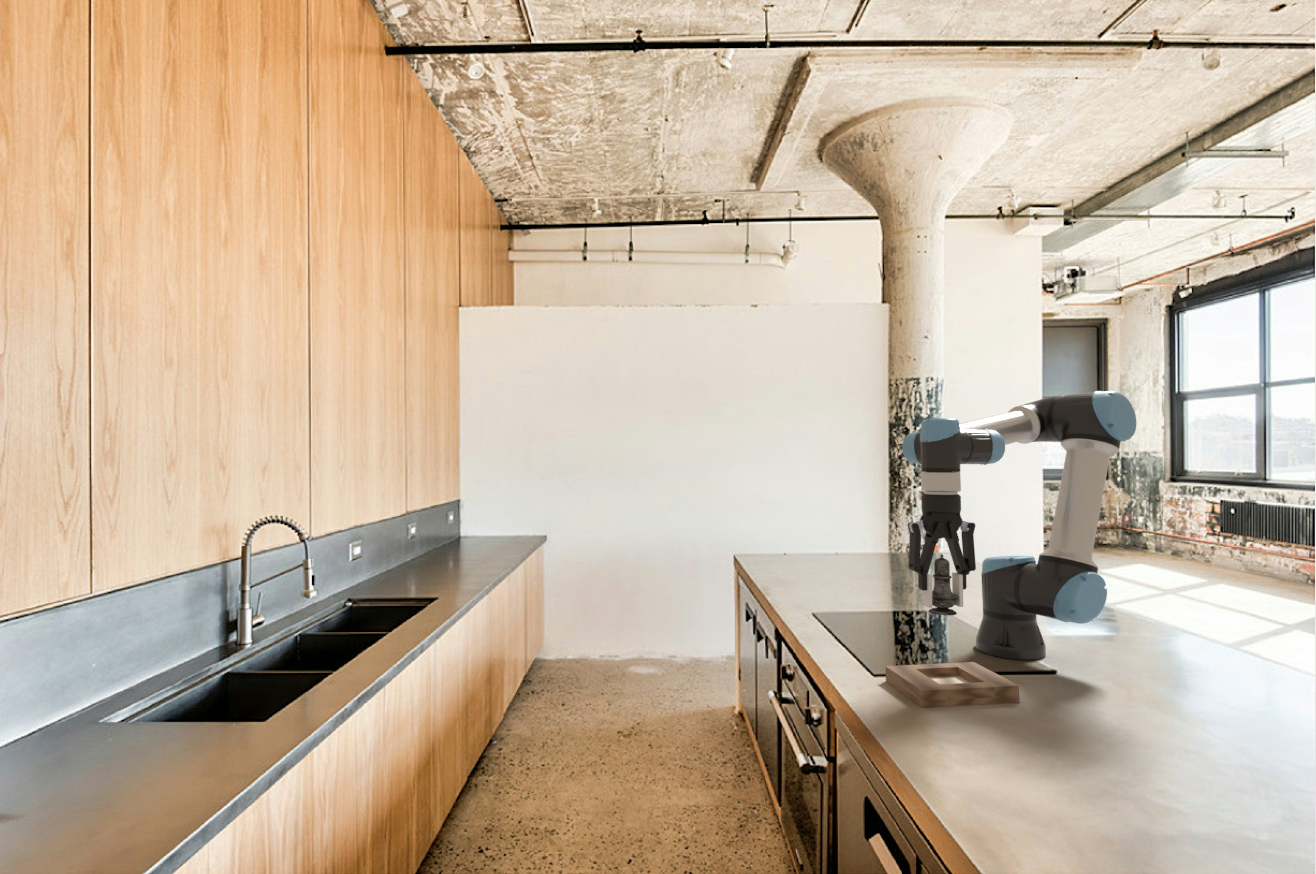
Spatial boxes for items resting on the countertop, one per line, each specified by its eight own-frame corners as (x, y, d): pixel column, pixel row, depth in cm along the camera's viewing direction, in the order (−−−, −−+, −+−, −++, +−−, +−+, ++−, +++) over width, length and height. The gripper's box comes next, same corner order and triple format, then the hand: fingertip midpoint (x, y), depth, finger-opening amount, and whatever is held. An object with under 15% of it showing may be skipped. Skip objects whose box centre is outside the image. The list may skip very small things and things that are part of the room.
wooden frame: (973, 676, 143) (973, 661, 143) (1019, 702, 128) (1019, 685, 128) (885, 681, 141) (885, 666, 141) (922, 707, 126) (922, 690, 126)
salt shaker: (953, 617, 132) (952, 556, 132) (923, 613, 135) (922, 554, 136) (961, 611, 136) (960, 553, 137) (932, 608, 140) (931, 551, 140)
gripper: (973, 491, 141) (975, 600, 141) (888, 492, 140) (890, 602, 139) (994, 493, 134) (997, 608, 133) (905, 494, 132) (907, 611, 131)
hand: (942, 605), depth 136 cm, fingers closed on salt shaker, 6 cm apart
